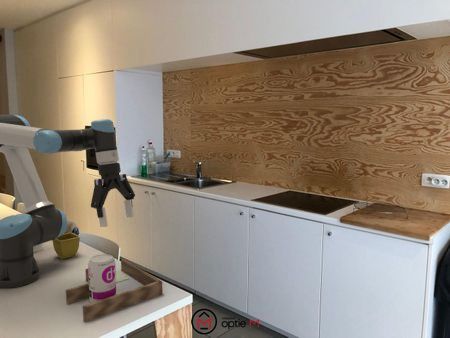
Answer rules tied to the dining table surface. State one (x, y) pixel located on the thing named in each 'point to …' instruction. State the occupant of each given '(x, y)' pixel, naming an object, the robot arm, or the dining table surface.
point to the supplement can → (101, 277)
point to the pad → (120, 277)
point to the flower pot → (66, 245)
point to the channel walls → (120, 300)
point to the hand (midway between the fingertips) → (117, 221)
